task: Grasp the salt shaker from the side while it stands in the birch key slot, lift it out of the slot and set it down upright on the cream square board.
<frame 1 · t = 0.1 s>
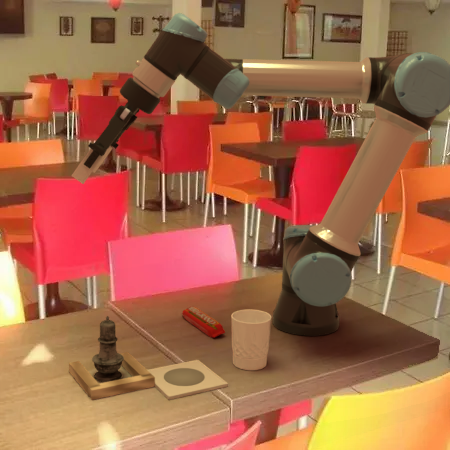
hand: (83, 174, 143), 36 cm above the table, tool tilted 35°, fingers open, 13 cm apart
cream square board: (184, 380, 135), on the table
salt shaker: (108, 376, 136), on the table
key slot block: (110, 377, 135), on the table
candy bar: (202, 328, 162), on the table
white cup: (249, 364, 143), on the table
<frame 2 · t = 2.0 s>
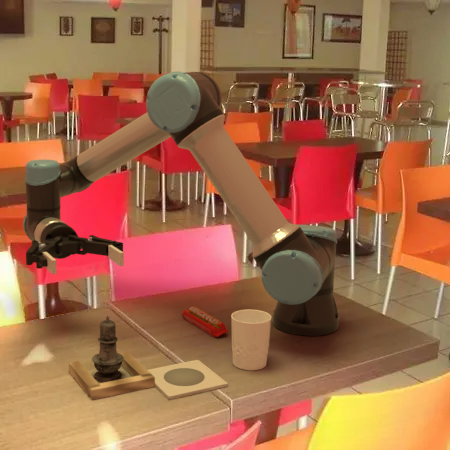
hand: (89, 263, 140), 19 cm above the table, tool horizontal, fingers open, 13 cm apart
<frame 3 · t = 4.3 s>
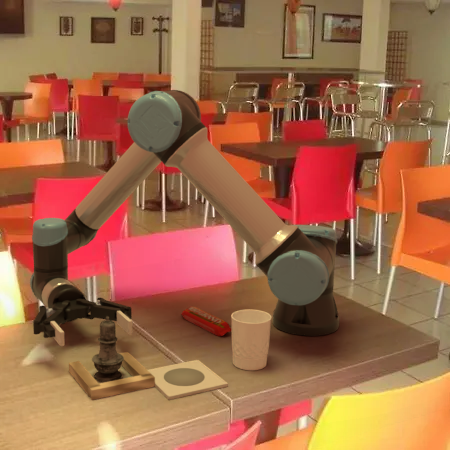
hand: (97, 333, 137), 7 cm above the table, tool horizontal, fingers open, 13 cm apart
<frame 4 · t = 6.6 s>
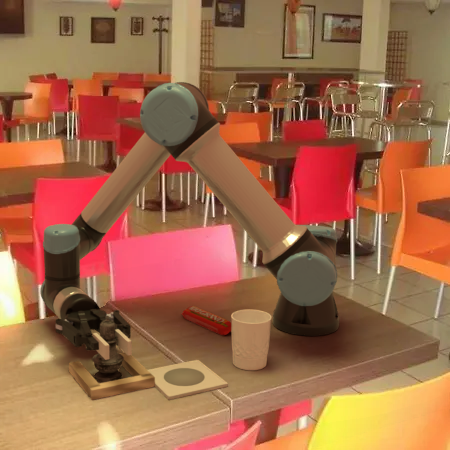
hand: (118, 350, 130), 7 cm above the table, tool horizontal, fingers closed on salt shaker, 4 cm apart
salt shaker: (108, 376, 136), on the table, touching gripper
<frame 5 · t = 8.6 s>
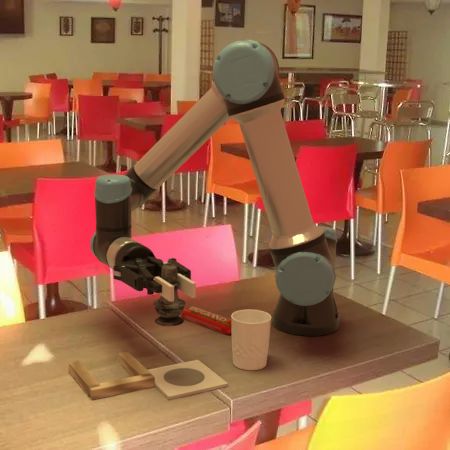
hand: (183, 292, 126), 19 cm above the table, tool horizontal, fingers closed on salt shaker, 4 cm apart
salt shaker: (169, 322, 133), point 11 cm above the table, touching gripper
when the fingers open (9 cm above the table, at t = 10.9 s): salt shaker drops 1 cm, resting on cream square board.
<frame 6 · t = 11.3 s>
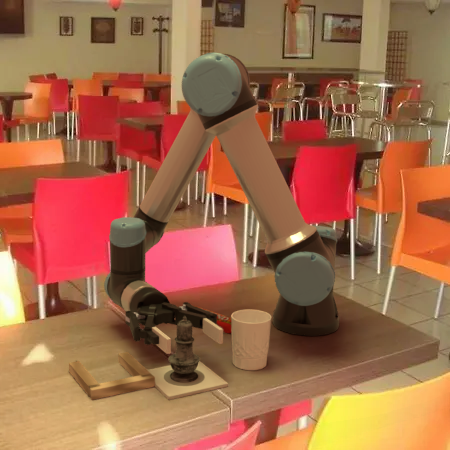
hand: (195, 341, 129), 9 cm above the table, tool horizontal, fingers open, 10 cm apart
salt shaker: (184, 377, 135), point 1 cm above the table, touching cream square board
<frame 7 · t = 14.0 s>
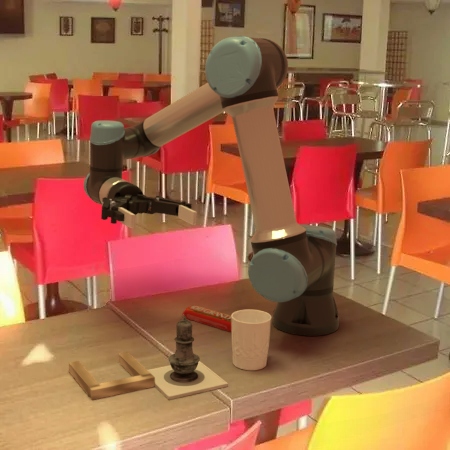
hand: (164, 220, 142), 27 cm above the table, tool horizontal, fingers open, 13 cm apart
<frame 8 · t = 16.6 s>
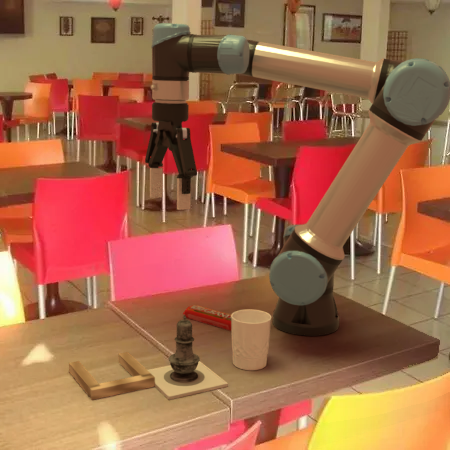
hand: (169, 203, 152), 29 cm above the table, tool pointing down, fingers open, 13 cm apart
at the end: salt shaker inside the target area on the cream square board (0.1 cm from its centre), point 0.5 cm above the cream square board's base; salt shaker tilted 1°; the gripper is holding nothing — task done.
